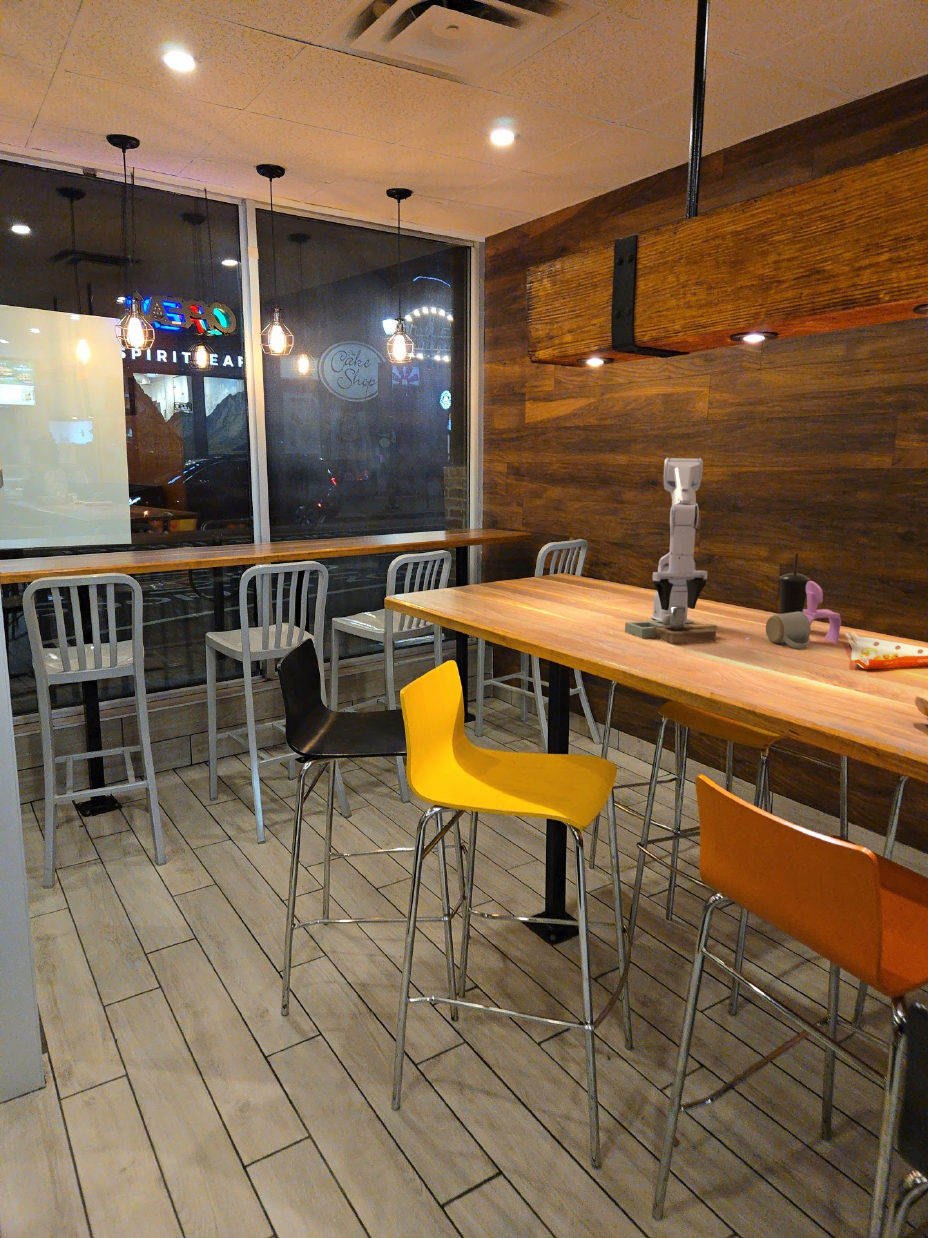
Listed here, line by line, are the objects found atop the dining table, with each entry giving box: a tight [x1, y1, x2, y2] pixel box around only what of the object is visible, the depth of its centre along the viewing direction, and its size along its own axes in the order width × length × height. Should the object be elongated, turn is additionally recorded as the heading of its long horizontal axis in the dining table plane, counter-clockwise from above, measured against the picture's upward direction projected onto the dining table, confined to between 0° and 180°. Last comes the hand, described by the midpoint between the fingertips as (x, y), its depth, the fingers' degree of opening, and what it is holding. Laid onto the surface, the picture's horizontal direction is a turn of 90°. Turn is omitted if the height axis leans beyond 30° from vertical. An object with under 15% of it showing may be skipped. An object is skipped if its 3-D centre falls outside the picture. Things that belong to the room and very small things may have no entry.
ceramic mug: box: [765, 612, 812, 650], centre depth 203 cm, size 11×8×8 cm
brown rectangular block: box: [688, 623, 718, 638], centre depth 211 cm, size 2×7×3 cm, turn 110°
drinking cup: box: [778, 553, 811, 614], centre depth 221 cm, size 8×8×20 cm
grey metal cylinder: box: [670, 606, 685, 632], centre depth 207 cm, size 3×3×8 cm
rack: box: [624, 614, 688, 639], centre depth 214 cm, size 8×14×4 cm, turn 110°
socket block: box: [651, 623, 717, 645], centre depth 209 cm, size 10×12×2 cm
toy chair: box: [803, 580, 842, 644], centre depth 207 cm, size 8×9×15 cm
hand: (678, 608), depth 207 cm, fingers open, 7 cm apart
